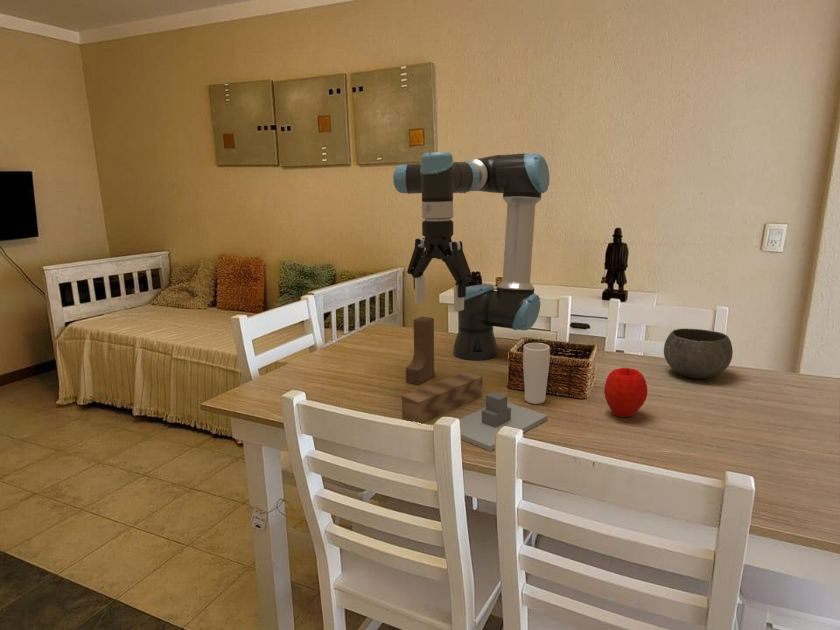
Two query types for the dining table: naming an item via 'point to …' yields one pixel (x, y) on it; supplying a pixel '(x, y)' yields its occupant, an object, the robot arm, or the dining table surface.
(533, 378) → the drinking glass
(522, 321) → the robot arm
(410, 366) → the wooden block
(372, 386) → the dining table surface
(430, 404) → the beam
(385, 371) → the dining table surface
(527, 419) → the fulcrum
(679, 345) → the bowl
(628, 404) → the apple
